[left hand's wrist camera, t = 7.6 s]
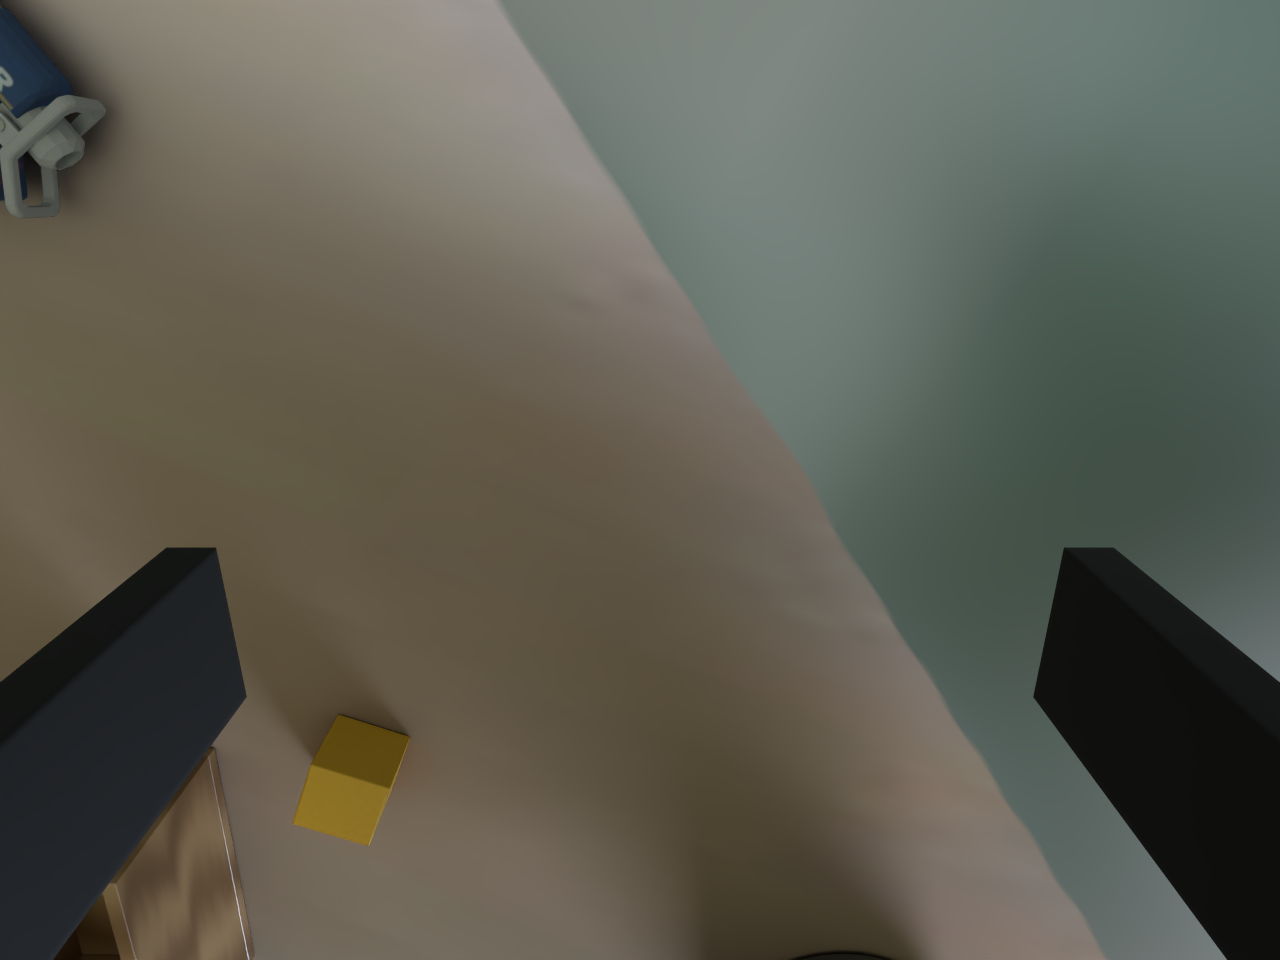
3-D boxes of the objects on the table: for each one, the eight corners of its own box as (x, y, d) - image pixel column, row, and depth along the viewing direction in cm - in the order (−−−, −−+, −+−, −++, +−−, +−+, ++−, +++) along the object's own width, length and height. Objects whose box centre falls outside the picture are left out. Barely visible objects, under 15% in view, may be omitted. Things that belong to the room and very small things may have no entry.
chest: (18, 742, 48) (-128, 878, 39) (214, 747, 48) (115, 883, 39) (80, 951, 54) (-33, 1111, 45) (255, 955, 54) (177, 1115, 45)
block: (338, 713, 47) (310, 764, 43) (410, 736, 48) (389, 788, 44) (320, 769, 49) (291, 824, 45) (390, 791, 49) (368, 847, 45)
